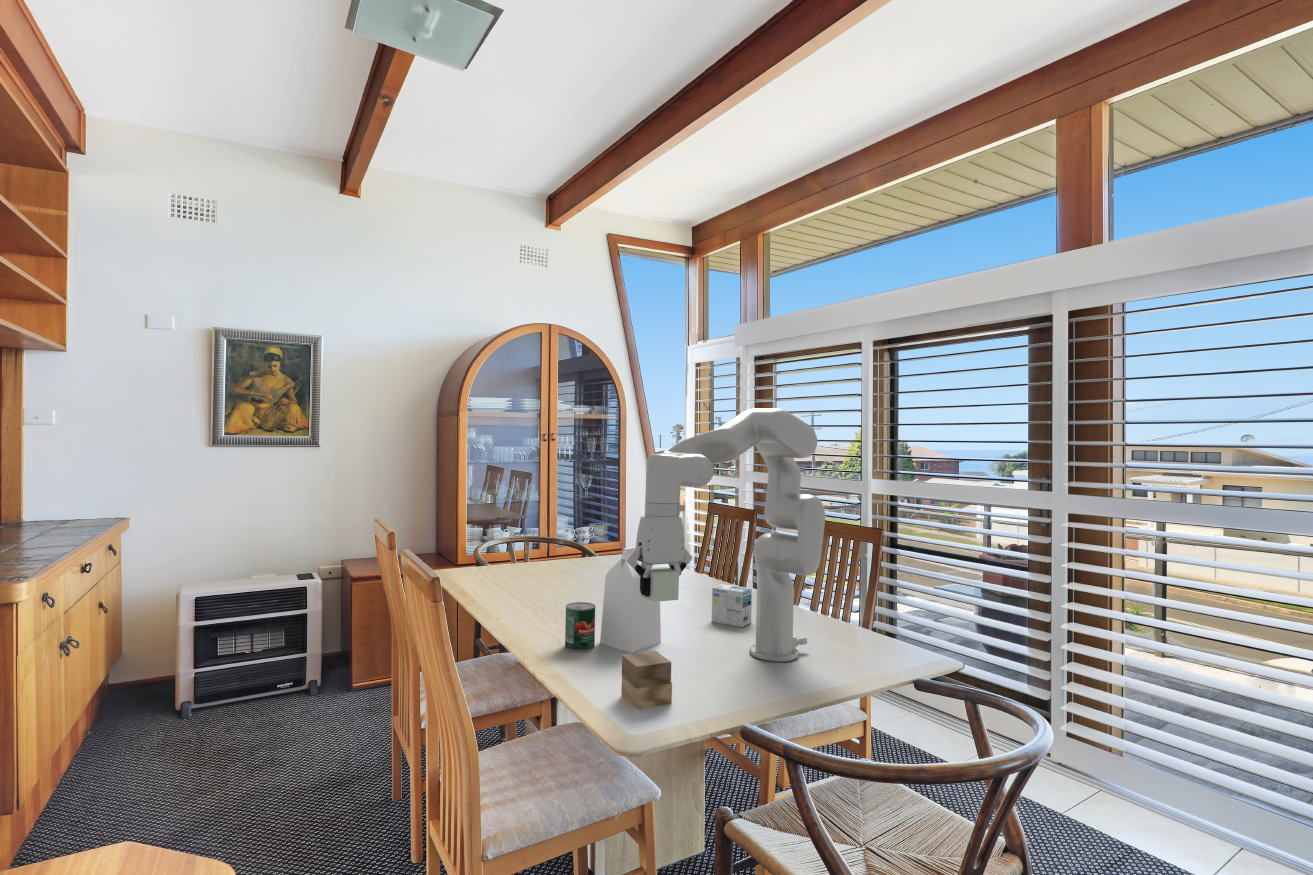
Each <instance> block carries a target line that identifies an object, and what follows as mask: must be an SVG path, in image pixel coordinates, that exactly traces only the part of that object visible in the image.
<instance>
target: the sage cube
mask: <svg viewBox="0 0 1313 875" xmlns="http://www.w3.org/2000/svg"><path fill="white" fill-rule="evenodd" d="M649 578H650V579H651V587H650V596H649V597H646V596H644V595H642V594H641V596H642V597H644V598H646V599H648V600H650V601H652V602H660V603H661V602H667V601H668V602H669V601H670V602H671V601H678V600H679V589H680V588H679V586H680V584H679V583H680V576H679V572H678V571H676V570H673V569H670V568H669V566H668V567H667V566H659V567H655V566H654V568H651V571H650V573H649Z"/></svg>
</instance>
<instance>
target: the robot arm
mask: <svg viewBox="0 0 1313 875" xmlns="http://www.w3.org/2000/svg"><path fill="white" fill-rule="evenodd" d="M754 446H755V448H756V450H757V451H758V453H759V454H760V456H761V458H762V460H763V461H764V463H765V465H766V469H767V474H768V476H767V486H766V497H765V504H764V505H765V506H764V519H765V522H766V524H768V525H769V526H770V527H773V528H778V529H784V530H788V531H789V530H790V531H791V530H792V531H797V535H790V534H786V533H778V532H767V533H763V534H761V535H759V536H758V538H757V539H756V540H755V542H754V546H753V555H754V556H753V557H754V563H755V568H756V614H755V615H756V616H755V617H756V619H755V622H756V623H755V644H752V645H751V646H749V654H750V655H751V656H752V657H754V658H756V659H760V660H761V661H767V662H777V663H778V662H780V663H781V662H790V661H794V660H796V659H797V658H798V657H799V653H800V652H799V650H798V649H797V647H799V646H802V645H806V644H807V643H808V638H807V637H806V636H801V637H797V636H796V635H794V603H795V602H794V600H795V589H794V583H793V580H792V577H791V575H790V574H794V575H798V576H811V575H813V574H815V572H817V570H818V569H819V566H820V564H821V559H822V550H823V541H824V534H825V524H826V511H825V507H824V506H825V505H824V503H823V502H822V501H821V499H820V498H819V497H817V496H816V495H813V494H808V493H801V481H802V475H801V469H800V467H799V466H798V463H797V462H796V460H795V459H805V458H809V457H811V456H812V455H813V454H814V453H815V451H816V449H817V447H818V437H817V433H816V432H815V430H814V429H813V428H812V426H810V425H809V424H808V423H806V422H805V421H803V420H802V419H800V418H799V417H797V416H795V415H794V414H792V413H790V412H789V411H787V410H785V409H782V408H776V407H773V408H768V407H767V408H760V407H759V408H758V407H757V408H749V409H746V410H744V411H742V412H740V413H739V414H737V415H735V416H734V417H732V418H731V419H729V420H728V421H726V422H724V423H723V424H722V425H720V426H718V427H716V428H715V429H712V430H709V431H708V430H707V431H706V432H702V433H700V434H697V435H695V436H692V437H690V438H686V439H683V440H681V441H679V442H677V443H675V444H674V445H672V446H670V447H669V448H667V449H665V450H664V451H663V452H661V453H651V454H648V456H647V458H646V464H645V465H646V468H645V492H644V494H645V497H644V515H643V516H640V520H639V523H638V527H637V532H636V533H637V534H636V539H635V546H636V549H635V551H634V552H633V553H632V555H631V556H630V557H629V558H628V559H627V562H628V563H629V564H630V565H631V566H632V567H633V569H634V570H635V571H636V572H637V573H638V575H639V576H640V591H641V594H642V595H644V596H646V597H649V596H650V587H651V579H650V578H649V573H650V571H651V568H652V566H653V567H654V565H668V568H670V569H673V570H676V571H678V572H679V577H680V576H682V572H683V571H684V570H685V569H686V568H687V566H688V565H689V564H690V563H691V562H692V560H693V556H692V555H691V553H690V552H689V551H688V550H687V549H686V547H685V533H684V524H683V518H682V517H681V516H680V514H681V512H684V510H685V505H684V504H683V505H682V504H681V487H684V488H701V487H704V486H706V485H708V484H709V483H710V482H711V481H712V479H713V477H714V473H715V472H714V465H716V464H723V463H727V462H730V461H734V460H736V459H737V458H739V457H740V456H741V455H743V454H744V453H746V452H747V451H748V450H750V449H752V448H753V447H754ZM637 561H640V562H642V563H641V566H640V565H639V564H638V563H637Z"/></svg>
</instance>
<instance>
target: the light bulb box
mask: <svg viewBox="0 0 1313 875" xmlns="http://www.w3.org/2000/svg"><path fill="white" fill-rule="evenodd" d="M711 590H712V591H711V623H717V624H723V625H727V626H734V627H737V628H738V627H740V628H743V627H746V626H747V625H749V624H751V623H752V604H753V602H752V601H753V599H752V596H753V595H752V592H753V589H752V587H744V586H738V585H730V584H724V583H721V584H718V585H715V586H712V589H711Z"/></svg>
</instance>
